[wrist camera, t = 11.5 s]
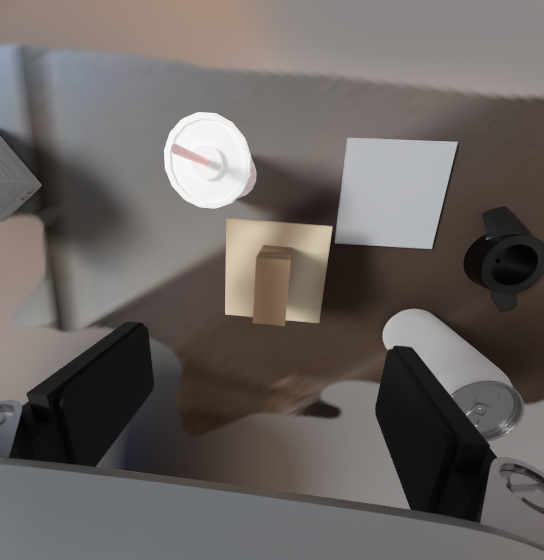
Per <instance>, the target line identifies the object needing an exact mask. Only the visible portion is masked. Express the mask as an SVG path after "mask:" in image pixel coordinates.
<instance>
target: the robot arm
mask: <svg viewBox="0 0 544 560" xmlns="http://www.w3.org/2000/svg"><path fill="white" fill-rule="evenodd" d="M153 386H154V380H153V371H152V361H151V352H150V343H149V334H148V329H147V327H144V324H143V323H137V322H125V323H124V324H122V325H121V326H120V327H118V328H117V329H115V330H114V331H113V332H111V333H110V334H109V335H107V336H106V337H104V338H103V339H101V340H100V341H99V342H97V343H96V344H95V345H93V346H92V347H90V348H89V349H88V350H86V351H85V352H84V353H82V354H81V355H79V356H78V357H77V358H75V359H74V360H72V361H71V362H69V363H68V364H67V365H65V366H64V367H63V368H61V369H60V370H58V371H57V372H56V373H54V374H53V375H51V376H50V377H49V378H47V379H46V380H44V381H43V382H42V383H41V384H39V385H38V386H36V387H35V388H33V389H32V390H31V391H29V392H28V393H27V397H28V400H29V402H27V403H26V404H25V405H23V406H22V404H21V403H20V402H18V401H13V400H5V401H0V560H544V473H543V472H541V471H540V470H538V469H536V468H535V467H533V466H531V465H529V464H527V463H525V462H522V461H520V460H517V459H513V458H509V457H499V458H497V457H496V455H495V454H494V453H493V452H492V450H491V449H490V448H489V447H490V445H489V444H488V443H487V441H486V440H485V439H484V437H483V436H482V435H481V434H480V432H479V431H478V430H477V429H476V427H475V426H474V425H473V423H472V422H471V421H470V420H469V418H468V417H467V416H466V415H465V413H464V412H463V411H462V410H461V408H460V407H459V406H458V405H457V403H456V402H455V401H454V399H453V398H452V397H451V396H450V394H449V393H448V392H447V391H446V389H445V388H444V387H443V386H442V384H441V383H440V382H439V380H438V379H437V378H436V377H435V375H434V374H433V373H432V372H431V370H430V369H429V368H428V367H427V365H426V364H425V363H424V362H423V360H422V359H421V358H420V356H419V355H418V354H417V353H416V351H415V350H414V349H413V348H412V347H407V346H396V345H395V346H394V347H393V348H392V349H389V350H388V352H387V356H386V360H385V365H384V369H383V374H382V379H381V383H380V388H379V393H378V397H377V402H376V408H375V409H376V417H377V420H378V423H379V425H380V428H381V431H382V433H383V436H384V439H385V442H386V444H387V447H388V450H389V452H390V455H391V458H392V460H393V463H394V465H395V468H396V471H397V474H398V476H399V479H400V482H401V484H402V487H403V489H404V493H405V495H406V498H407V501H408V503H409V506H410V509H411V510H408V509H402V508H396V507H389V506H383V505H377V504H370V503H362V502H355V501H348V500H341V499H333V498H326V497H319V496H312V495H305V494H297V493H290V492H283V491H276V490H268V489H261V488H253V487H245V486H238V485H231V484H223V483H216V482H208V481H200V480H192V479H185V478H176V477H170V476H162V475H153V474H146V473H138V472H130V471H122V470H114V469H106V468H98V467H96V465H97V464H98V463H99V461H100V460H101V459H102V457H103V456H104V455H105V453H106V452H107V451H108V449H109V448H110V447H111V445H112V444H113V443H114V441H115V440H116V439H117V437H118V436H119V435H120V433H121V432H122V431H123V429H124V428H125V427H126V425H127V424H128V423H129V421H130V420H131V419H132V417H133V416H134V415H135V413H136V412H137V411H138V409H139V408H140V407H141V405H142V404H143V403H144V401H145V400H146V399H147V397H148V396H149V395H150V393H151V392H152V390H153Z"/></svg>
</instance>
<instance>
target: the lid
mask: <svg viewBox="0 0 544 560" xmlns="http://www.w3.org/2000/svg"><path fill="white" fill-rule="evenodd" d="M331 234H332V226H325V225H312V224H299V223H286V222H274V221H261V220H248V219H235V218H227V224H226V292H225V314H227V315H238V316H248V317H253V323H259V324H269V325H280V326H285V320H290V321H301V322H311V323H319V319H320V312H321V305H322V298H323V291H324V284H325V277H326V270H327V262H328V255H329V248H330V241H331Z"/></svg>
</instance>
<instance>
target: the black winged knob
mask: <svg viewBox="0 0 544 560" xmlns="http://www.w3.org/2000/svg"><path fill="white" fill-rule="evenodd" d="M482 216H483V219H484V223H485V228H486V235H484V236H482V237H480V238H479V239H478V240H476V241H475V242H474V243H473V244H472V245H471V246H470V248H469V249H468V251H467V253H466V255H465V258H464V270H465V273H466V275H467V277H468V278H469V279H470V280H471V281H473V282H475V283H477V284H479V285H481V286H483V287H486V288H488V289H490V290H491V297H492V299H493V301H494V303H495V305H496V306H497V307H498V309H499V310H500V312H502V311H506V310H509V309H511V308H513V307H514V306H516V305H517V304H516V299H515V293H517V292H520V291H523V290H525V289H527V288H529V287H530V286H532V285H533V284H534V283H535V282H537V281H538V279H539V278H540V277H541V276H542V274H543V273H544V244H543V242H541V241H540V240H539V239H537V238H535V237H533V235H532V234H531V233H530V231H529V230H528V229H527V228H526V227H525V226H524V225H523V224H522V223H521V221H520V220H519V219H518V218H517V217H516V216H515V215H514V214H513V213H512V212H511V211H510V210H509V209H508V208H507V207H506V206H505V207H500V208H496V209H492V210H489V211H487V212H484V213H482Z"/></svg>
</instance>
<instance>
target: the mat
mask: <svg viewBox="0 0 544 560" xmlns="http://www.w3.org/2000/svg"><path fill="white" fill-rule="evenodd" d="M457 143H458V142H444V141H418V140H392V139H366V138H348V139H347V145H346V153H345V161H344V169H343V177H342V185H341V193H340V201H339V209H338V217H337V226H336V234H335V242H334V243H339V244H355V245H372V246H389V247H405V248H422V249H432V246H433V242H434V238H435V234H436V230H437V225H438V221H439V217H440V213H441V209H442V205H443V201H444V197H445V193H446V189H447V184H448V180H449V176H450V172H451V168H452V164H453V160H454V156H455V152H456V147H457Z"/></svg>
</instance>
